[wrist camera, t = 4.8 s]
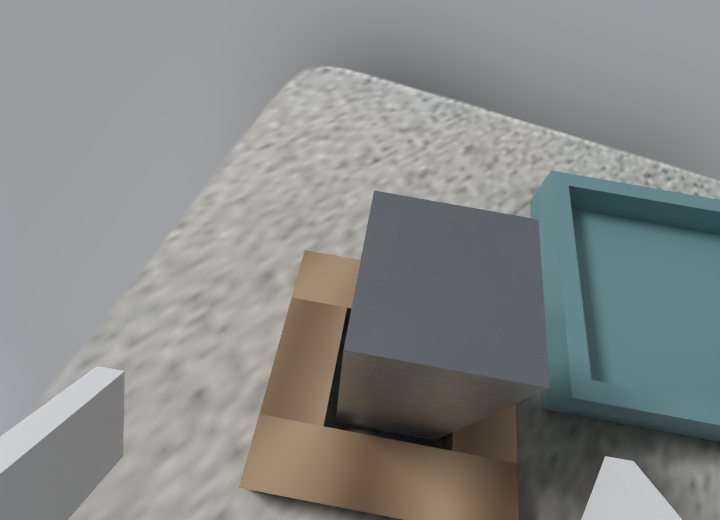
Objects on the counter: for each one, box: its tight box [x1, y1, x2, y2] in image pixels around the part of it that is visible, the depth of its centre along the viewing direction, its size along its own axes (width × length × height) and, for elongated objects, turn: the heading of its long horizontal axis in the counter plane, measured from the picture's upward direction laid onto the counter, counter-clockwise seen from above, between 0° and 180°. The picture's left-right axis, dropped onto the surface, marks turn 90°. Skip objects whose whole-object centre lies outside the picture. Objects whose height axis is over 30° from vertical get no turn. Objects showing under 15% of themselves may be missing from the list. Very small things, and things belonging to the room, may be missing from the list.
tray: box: [531, 171, 720, 442], centre depth 23 cm, size 14×14×3 cm
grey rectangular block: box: [336, 191, 550, 441], centre depth 16 cm, size 5×5×12 cm
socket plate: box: [239, 250, 519, 520], centre depth 21 cm, size 12×12×2 cm
